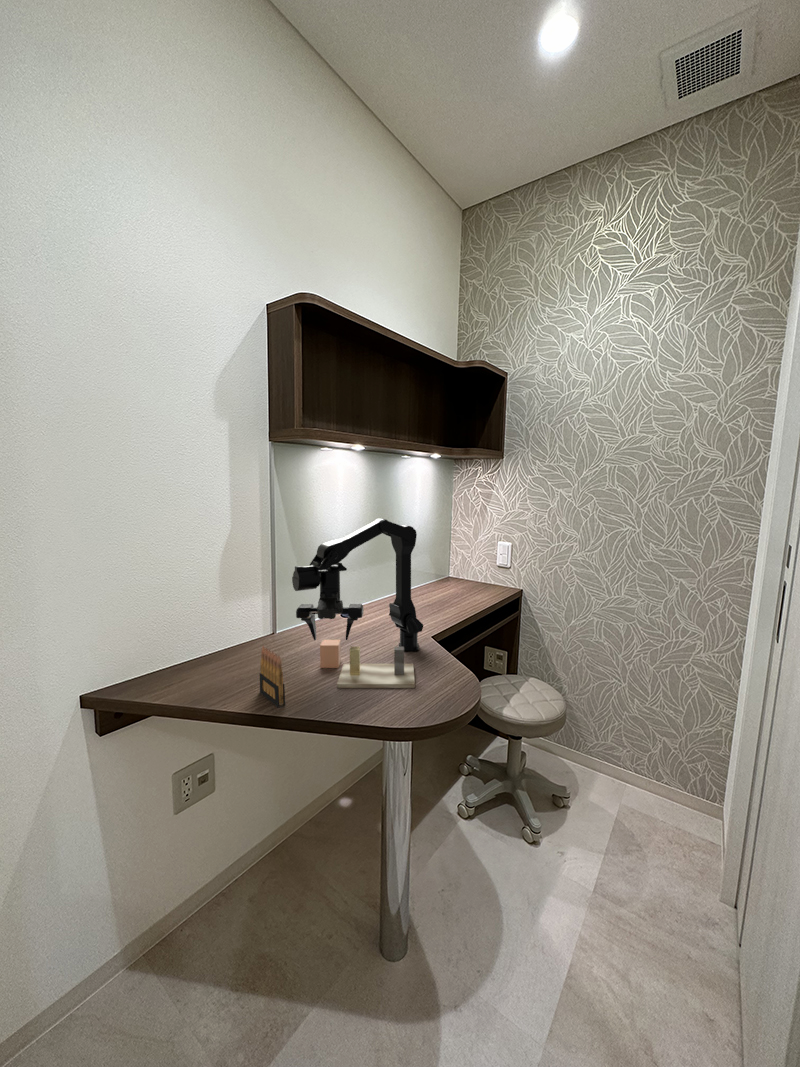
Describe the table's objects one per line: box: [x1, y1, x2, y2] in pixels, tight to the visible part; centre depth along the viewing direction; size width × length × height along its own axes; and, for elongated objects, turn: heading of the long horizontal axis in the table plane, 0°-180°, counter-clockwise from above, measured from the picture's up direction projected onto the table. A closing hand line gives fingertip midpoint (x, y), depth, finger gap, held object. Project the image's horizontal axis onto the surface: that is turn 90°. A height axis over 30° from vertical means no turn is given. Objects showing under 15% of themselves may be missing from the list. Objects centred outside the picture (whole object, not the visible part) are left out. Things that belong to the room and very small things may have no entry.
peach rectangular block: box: [319, 639, 342, 669], centre depth 133 cm, size 5×5×7 cm
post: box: [349, 646, 361, 675], centre depth 124 cm, size 3×3×7 cm
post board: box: [336, 646, 416, 689], centre depth 124 cm, size 14×20×8 cm
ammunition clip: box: [259, 645, 286, 708], centre depth 111 cm, size 11×2×12 cm, turn 40°
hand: (330, 639), depth 132 cm, fingers open, 9 cm apart
